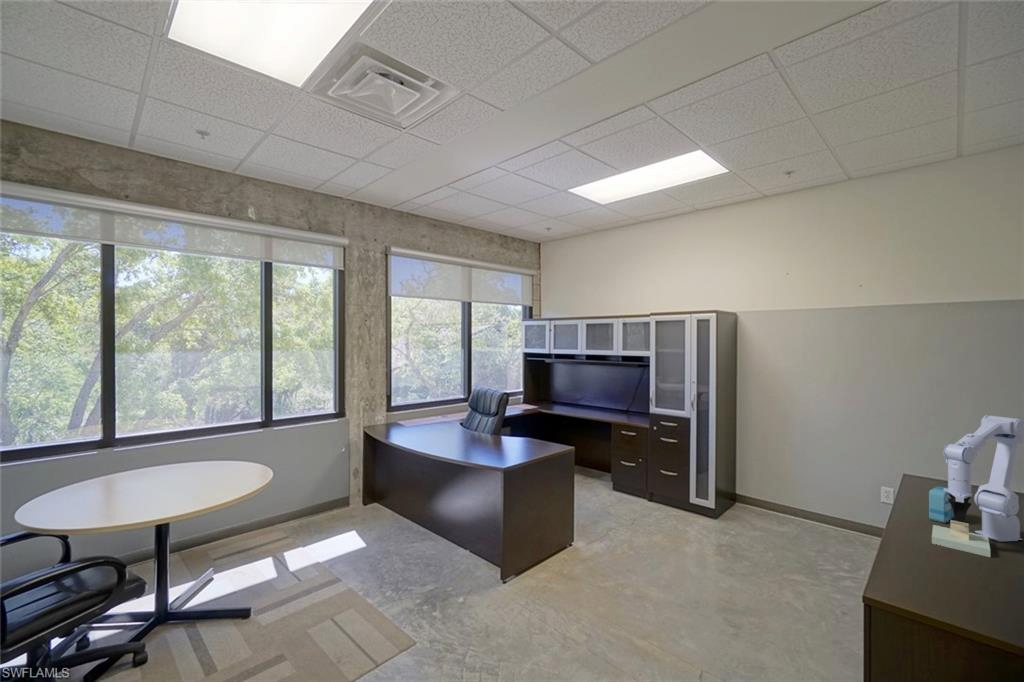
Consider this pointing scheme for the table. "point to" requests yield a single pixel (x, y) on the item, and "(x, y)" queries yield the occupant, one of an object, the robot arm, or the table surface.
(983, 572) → the table surface
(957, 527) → the maple block
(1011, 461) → the robot arm
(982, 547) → the base board
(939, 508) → the data package
